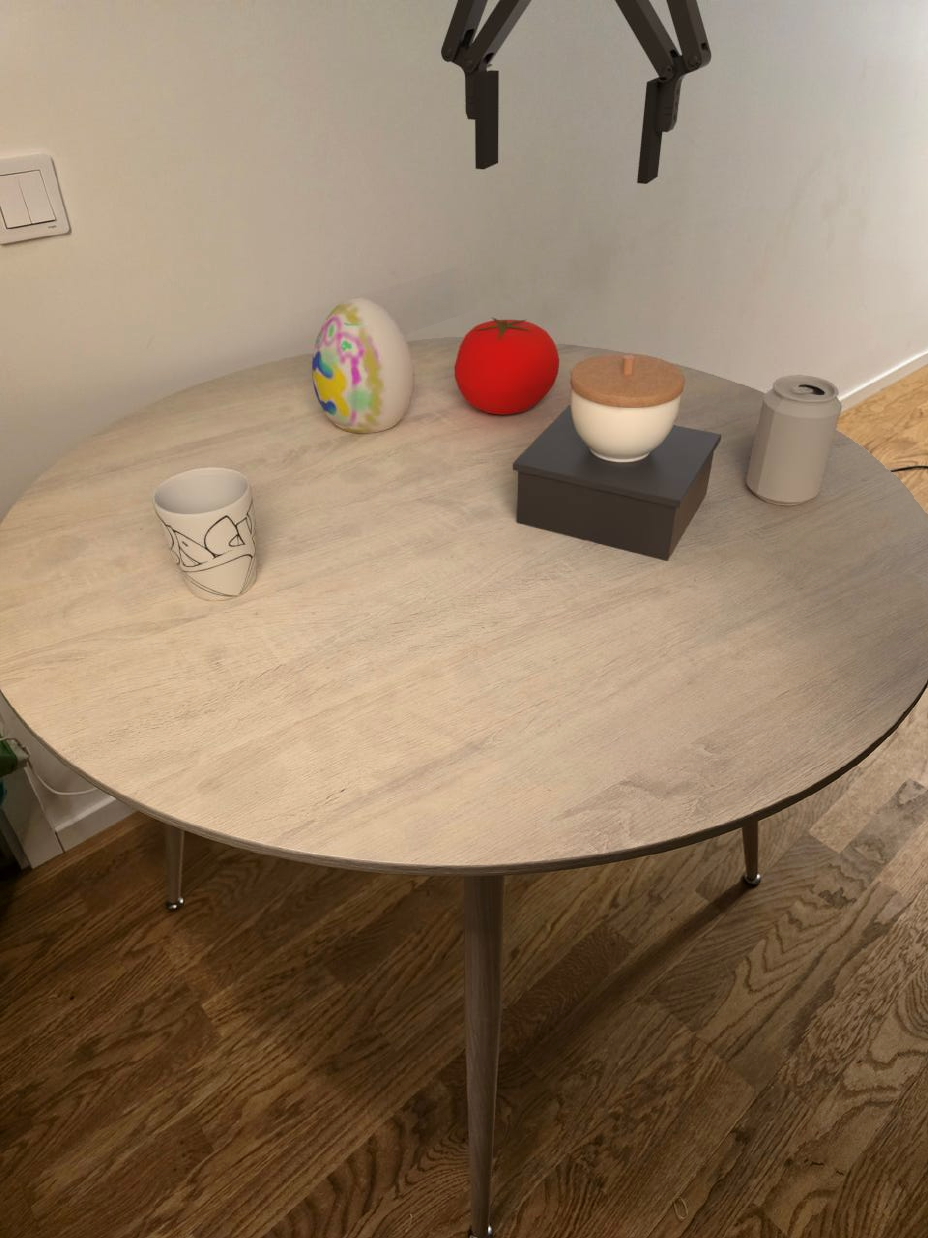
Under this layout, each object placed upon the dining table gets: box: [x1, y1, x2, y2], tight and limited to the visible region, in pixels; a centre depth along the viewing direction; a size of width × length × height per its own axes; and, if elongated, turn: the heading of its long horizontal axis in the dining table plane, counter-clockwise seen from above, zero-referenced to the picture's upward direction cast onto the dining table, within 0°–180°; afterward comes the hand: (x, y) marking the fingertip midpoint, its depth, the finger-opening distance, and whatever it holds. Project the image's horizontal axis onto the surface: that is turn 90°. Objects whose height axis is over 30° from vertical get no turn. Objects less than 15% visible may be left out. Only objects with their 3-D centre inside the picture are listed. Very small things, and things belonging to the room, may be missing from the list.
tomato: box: [454, 317, 560, 415], centre depth 108 cm, size 12×13×11 cm
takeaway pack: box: [512, 404, 722, 562], centre depth 89 cm, size 17×15×7 cm
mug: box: [151, 466, 258, 602], centre depth 80 cm, size 11×8×10 cm
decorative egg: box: [311, 296, 415, 435], centre depth 104 cm, size 12×12×15 cm
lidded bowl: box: [569, 352, 686, 462], centre depth 84 cm, size 11×11×9 cm
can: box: [746, 374, 843, 507], centre depth 89 cm, size 8×8×12 cm
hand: (564, 173), depth 68 cm, fingers open, 13 cm apart
